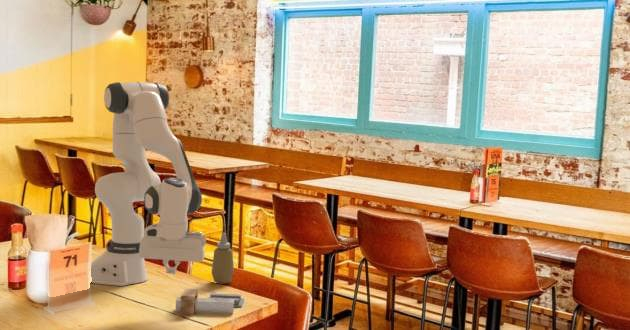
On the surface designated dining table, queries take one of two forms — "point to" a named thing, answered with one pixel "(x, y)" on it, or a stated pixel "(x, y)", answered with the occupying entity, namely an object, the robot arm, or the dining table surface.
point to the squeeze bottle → (223, 262)
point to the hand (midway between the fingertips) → (171, 273)
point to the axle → (210, 305)
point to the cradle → (237, 298)
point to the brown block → (188, 301)
